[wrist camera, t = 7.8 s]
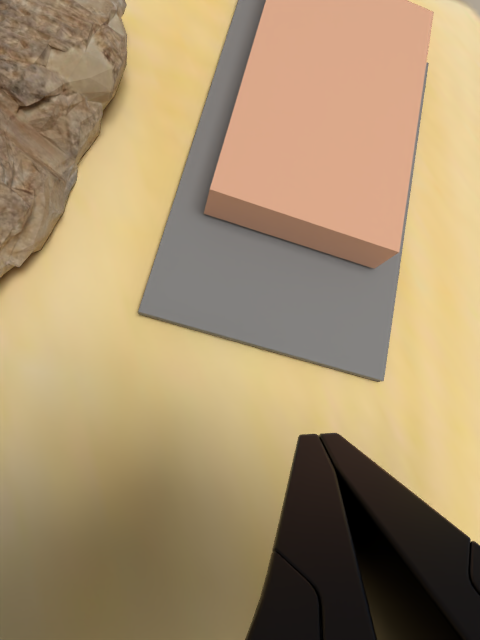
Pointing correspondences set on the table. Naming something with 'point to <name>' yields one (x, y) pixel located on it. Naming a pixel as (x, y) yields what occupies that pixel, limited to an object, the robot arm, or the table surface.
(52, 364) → the table surface
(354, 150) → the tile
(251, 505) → the table surface
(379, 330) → the mat
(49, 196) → the flat grey rock
